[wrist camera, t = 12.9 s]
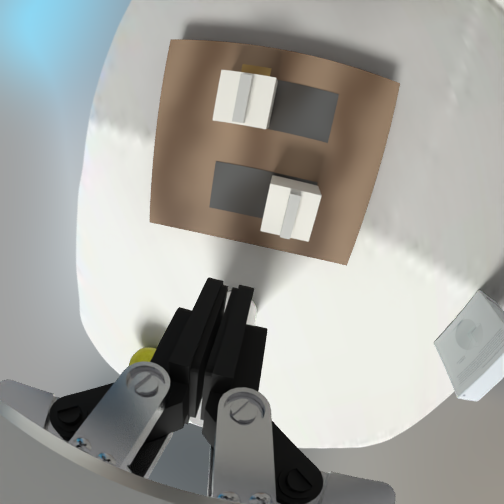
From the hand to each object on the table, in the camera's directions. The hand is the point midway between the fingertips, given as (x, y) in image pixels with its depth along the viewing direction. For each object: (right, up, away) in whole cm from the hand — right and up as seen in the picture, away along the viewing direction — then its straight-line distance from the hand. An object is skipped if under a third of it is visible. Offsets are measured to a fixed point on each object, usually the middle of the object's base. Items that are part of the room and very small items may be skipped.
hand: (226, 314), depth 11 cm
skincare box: (+32, -8, +22) cm, 39 cm away
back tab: (+4, +7, +15) cm, 17 cm away
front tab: (+1, +15, +11) cm, 18 cm away
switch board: (+2, +12, +15) cm, 20 cm away
